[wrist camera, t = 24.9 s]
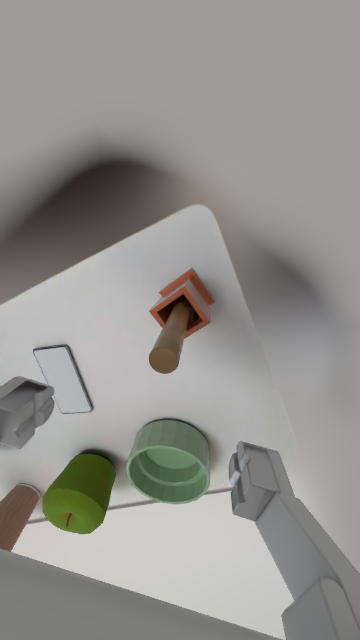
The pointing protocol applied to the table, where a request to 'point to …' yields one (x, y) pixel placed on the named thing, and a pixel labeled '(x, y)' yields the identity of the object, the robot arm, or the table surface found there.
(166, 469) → the green round dish
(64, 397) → the smartphone
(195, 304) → the utensil holder
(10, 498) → the coffee cup
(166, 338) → the stirring stick
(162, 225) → the table surface
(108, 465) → the apple
